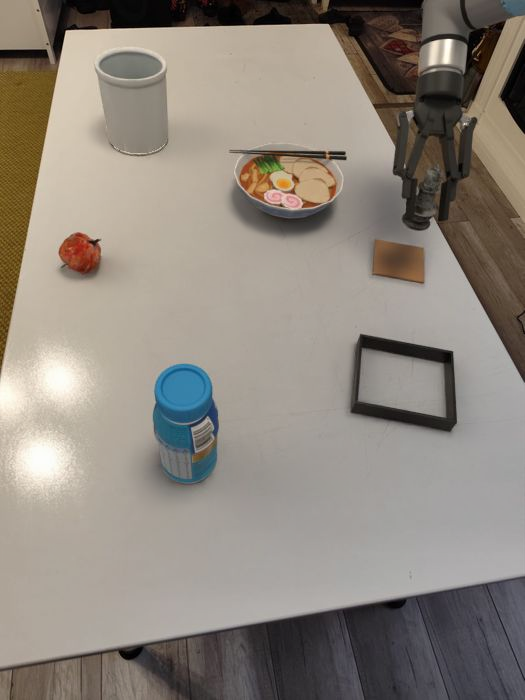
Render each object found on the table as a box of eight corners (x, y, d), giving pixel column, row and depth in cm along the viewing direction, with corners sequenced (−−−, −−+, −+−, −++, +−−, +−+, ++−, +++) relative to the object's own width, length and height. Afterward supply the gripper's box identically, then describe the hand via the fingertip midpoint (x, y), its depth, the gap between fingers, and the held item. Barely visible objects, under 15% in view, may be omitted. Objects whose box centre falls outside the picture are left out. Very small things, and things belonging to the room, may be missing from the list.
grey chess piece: (428, 211, 97) (452, 154, 87) (434, 233, 94) (459, 176, 84) (397, 209, 97) (418, 152, 87) (402, 230, 93) (424, 173, 84)
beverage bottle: (157, 485, 73) (142, 417, 57) (162, 431, 78) (150, 355, 62) (217, 486, 74) (218, 418, 58) (218, 432, 79) (220, 357, 63)
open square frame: (446, 361, 91) (453, 351, 88) (450, 431, 82) (457, 422, 80) (356, 344, 91) (360, 333, 89) (350, 412, 83) (354, 402, 81)
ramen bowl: (226, 235, 105) (227, 202, 98) (228, 167, 118) (229, 134, 112) (347, 241, 107) (356, 210, 100) (336, 174, 120) (343, 142, 114)
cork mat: (422, 249, 107) (423, 247, 107) (423, 283, 101) (424, 281, 101) (374, 240, 108) (375, 238, 107) (372, 274, 102) (373, 272, 101)
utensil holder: (145, 114, 129) (136, 39, 115) (184, 141, 123) (181, 66, 109) (94, 135, 122) (79, 58, 108) (134, 165, 116) (123, 87, 102)
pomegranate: (70, 291, 96) (109, 269, 92) (38, 265, 92) (77, 240, 87) (80, 266, 101) (117, 244, 97) (50, 240, 97) (88, 215, 92)
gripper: (482, 88, 91) (467, 224, 94) (380, 80, 90) (368, 218, 93) (504, 73, 83) (487, 221, 87) (393, 63, 82) (380, 214, 86)
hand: (426, 219), depth 90 cm, fingers closed on grey chess piece, 5 cm apart
